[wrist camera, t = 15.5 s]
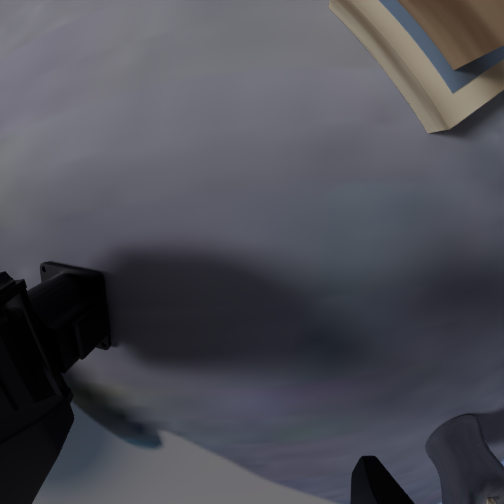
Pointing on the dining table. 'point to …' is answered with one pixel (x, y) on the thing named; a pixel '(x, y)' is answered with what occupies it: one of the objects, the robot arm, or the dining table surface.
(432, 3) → the walnut column
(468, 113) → the birch plinth
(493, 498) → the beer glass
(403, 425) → the dining table surface
